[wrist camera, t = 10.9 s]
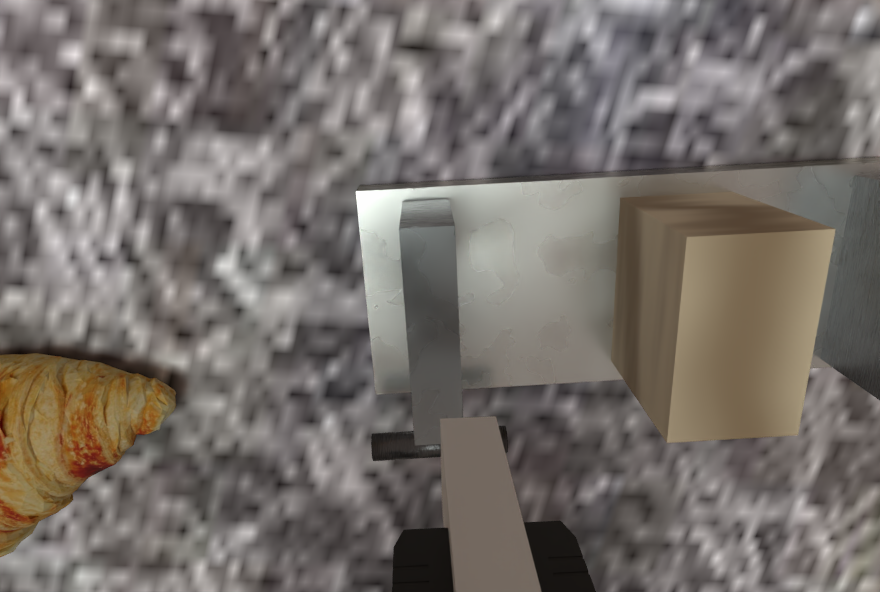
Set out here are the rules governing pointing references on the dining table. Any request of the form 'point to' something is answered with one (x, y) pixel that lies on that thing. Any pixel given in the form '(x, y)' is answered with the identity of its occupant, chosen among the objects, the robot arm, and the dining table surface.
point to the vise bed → (559, 261)
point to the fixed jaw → (858, 291)
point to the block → (717, 312)
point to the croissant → (65, 431)
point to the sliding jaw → (428, 330)
